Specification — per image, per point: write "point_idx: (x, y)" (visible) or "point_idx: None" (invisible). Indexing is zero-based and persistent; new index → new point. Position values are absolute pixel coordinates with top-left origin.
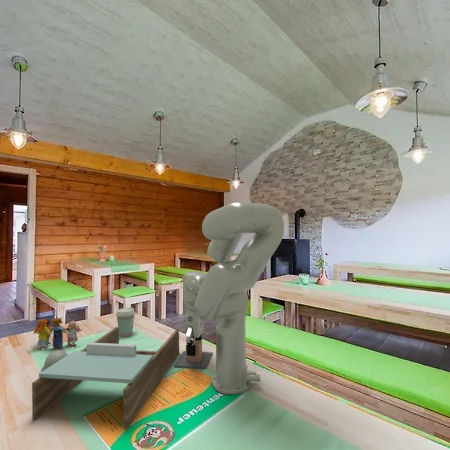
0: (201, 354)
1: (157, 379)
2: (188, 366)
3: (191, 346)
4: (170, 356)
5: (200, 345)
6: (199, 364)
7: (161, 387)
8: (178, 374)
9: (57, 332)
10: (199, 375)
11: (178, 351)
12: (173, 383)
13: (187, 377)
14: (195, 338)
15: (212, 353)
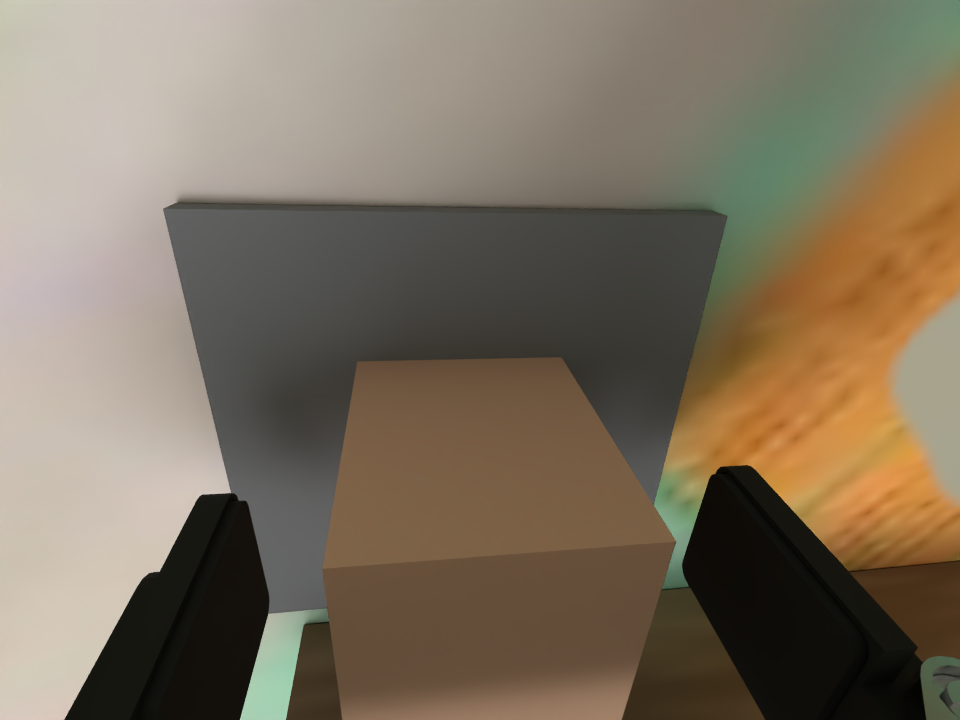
0: (408, 382)
1: (944, 607)
2: (666, 447)
3: (904, 670)
4: (639, 696)
5: (493, 507)
6: (627, 334)
7: (943, 531)
8: (771, 484)
9: None
10: (849, 268)
11: (329, 657)
12: (918, 472)
13: (853, 388)
14: (226, 713)
15: (193, 207)
